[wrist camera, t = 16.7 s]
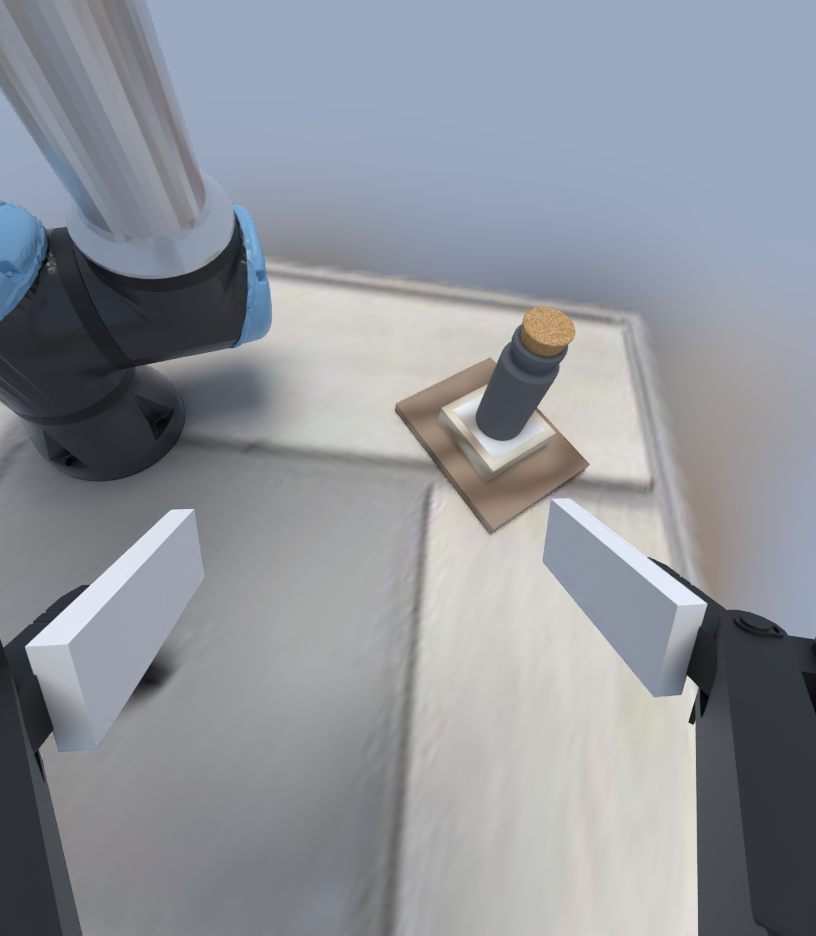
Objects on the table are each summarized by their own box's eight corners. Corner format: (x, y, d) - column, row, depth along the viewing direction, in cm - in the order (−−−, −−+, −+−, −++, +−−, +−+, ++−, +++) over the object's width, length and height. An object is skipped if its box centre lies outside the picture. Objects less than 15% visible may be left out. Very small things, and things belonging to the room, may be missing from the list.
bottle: (514, 398, 51) (568, 300, 38) (528, 439, 48) (591, 348, 35) (470, 402, 50) (509, 302, 37) (481, 443, 47) (528, 352, 34)
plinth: (395, 410, 54) (397, 388, 50) (487, 364, 59) (496, 341, 55) (489, 533, 47) (501, 520, 43) (584, 470, 53) (602, 452, 49)
